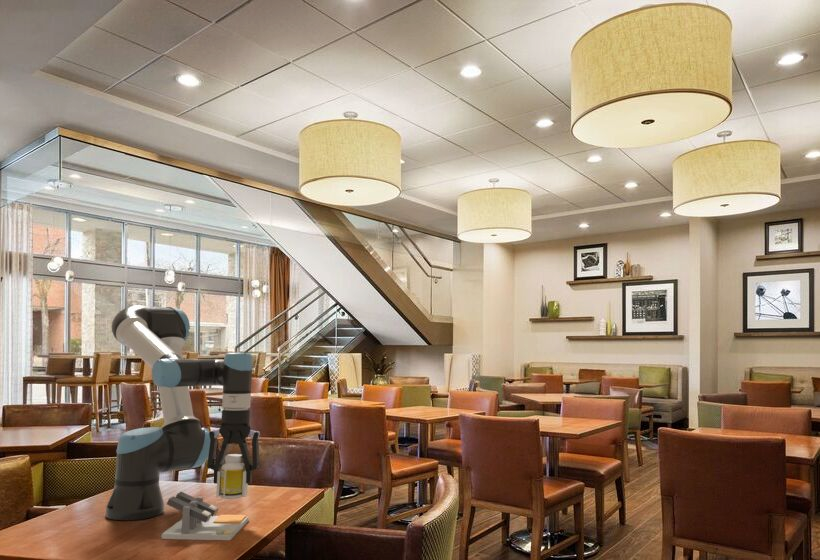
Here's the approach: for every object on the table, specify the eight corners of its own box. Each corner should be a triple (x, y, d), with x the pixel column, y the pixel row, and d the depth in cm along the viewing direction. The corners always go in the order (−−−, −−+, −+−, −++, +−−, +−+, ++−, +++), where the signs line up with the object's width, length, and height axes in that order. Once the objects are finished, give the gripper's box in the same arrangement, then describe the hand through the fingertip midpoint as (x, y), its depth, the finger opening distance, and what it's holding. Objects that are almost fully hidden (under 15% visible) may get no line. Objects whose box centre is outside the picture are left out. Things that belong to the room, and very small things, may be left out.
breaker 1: (166, 504, 153) (169, 497, 154) (171, 501, 157) (174, 494, 157) (205, 522, 153) (208, 516, 153) (209, 519, 156) (212, 512, 156)
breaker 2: (174, 499, 159) (177, 492, 159) (179, 496, 162) (181, 490, 162) (212, 516, 158) (215, 510, 159) (216, 513, 162) (219, 507, 162)
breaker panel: (161, 538, 151) (163, 507, 152) (186, 519, 169) (188, 491, 170) (230, 540, 151) (231, 508, 152) (248, 520, 169) (249, 492, 170)
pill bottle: (248, 496, 167) (250, 454, 168) (233, 500, 162) (235, 457, 163) (230, 493, 170) (232, 452, 171) (214, 498, 164) (217, 455, 166)
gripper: (196, 409, 165) (191, 498, 162) (267, 410, 165) (263, 499, 162) (205, 407, 172) (201, 491, 169) (273, 408, 172) (270, 492, 169)
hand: (231, 495), depth 166 cm, fingers closed on pill bottle, 6 cm apart
